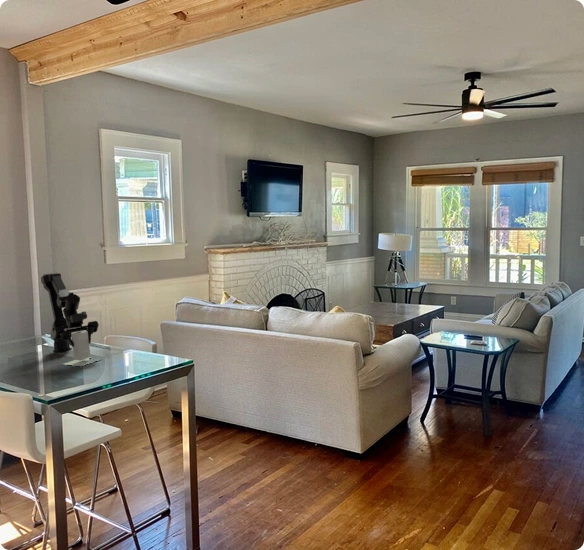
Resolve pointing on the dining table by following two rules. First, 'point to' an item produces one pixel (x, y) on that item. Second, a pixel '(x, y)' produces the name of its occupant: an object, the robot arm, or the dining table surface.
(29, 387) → the dining table surface
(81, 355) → the skincare box
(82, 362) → the mat
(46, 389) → the dining table surface
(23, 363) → the dining table surface
